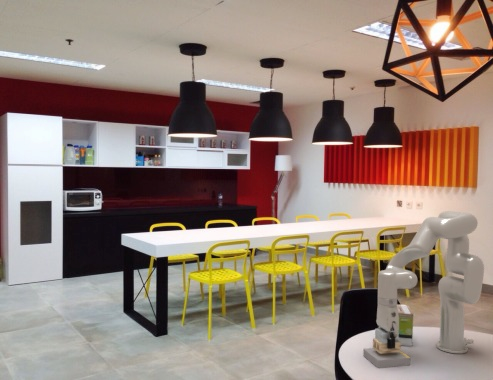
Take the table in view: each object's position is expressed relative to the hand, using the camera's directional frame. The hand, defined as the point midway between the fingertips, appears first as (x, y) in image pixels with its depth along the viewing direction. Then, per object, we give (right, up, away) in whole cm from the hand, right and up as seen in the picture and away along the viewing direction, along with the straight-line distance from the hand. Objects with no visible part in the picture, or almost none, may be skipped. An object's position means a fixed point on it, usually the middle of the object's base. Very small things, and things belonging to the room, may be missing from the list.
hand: (386, 344), depth 179 cm
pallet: (0, -2, 0) cm, 2 cm away
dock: (0, -6, 0) cm, 6 cm away
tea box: (+13, -6, +24) cm, 28 cm away
